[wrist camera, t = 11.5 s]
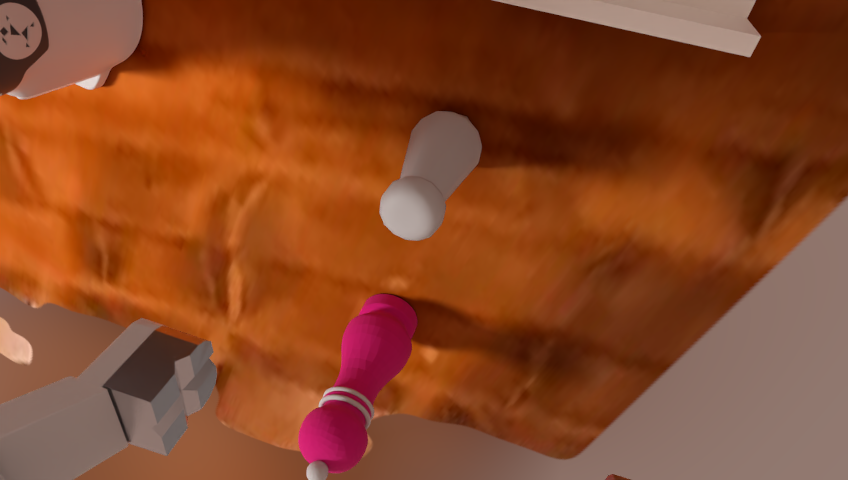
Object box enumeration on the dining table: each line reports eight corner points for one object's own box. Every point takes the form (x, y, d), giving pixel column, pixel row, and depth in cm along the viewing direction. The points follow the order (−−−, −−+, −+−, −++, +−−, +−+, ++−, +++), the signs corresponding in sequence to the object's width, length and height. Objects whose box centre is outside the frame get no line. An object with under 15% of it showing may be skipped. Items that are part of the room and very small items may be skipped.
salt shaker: (405, 127, 45) (346, 207, 35) (454, 86, 42) (406, 162, 32) (450, 177, 47) (406, 268, 37) (501, 142, 44) (468, 231, 34)
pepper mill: (354, 286, 58) (261, 447, 43) (417, 292, 56) (344, 463, 41) (366, 334, 62) (285, 497, 47) (426, 341, 60) (362, 514, 45)
